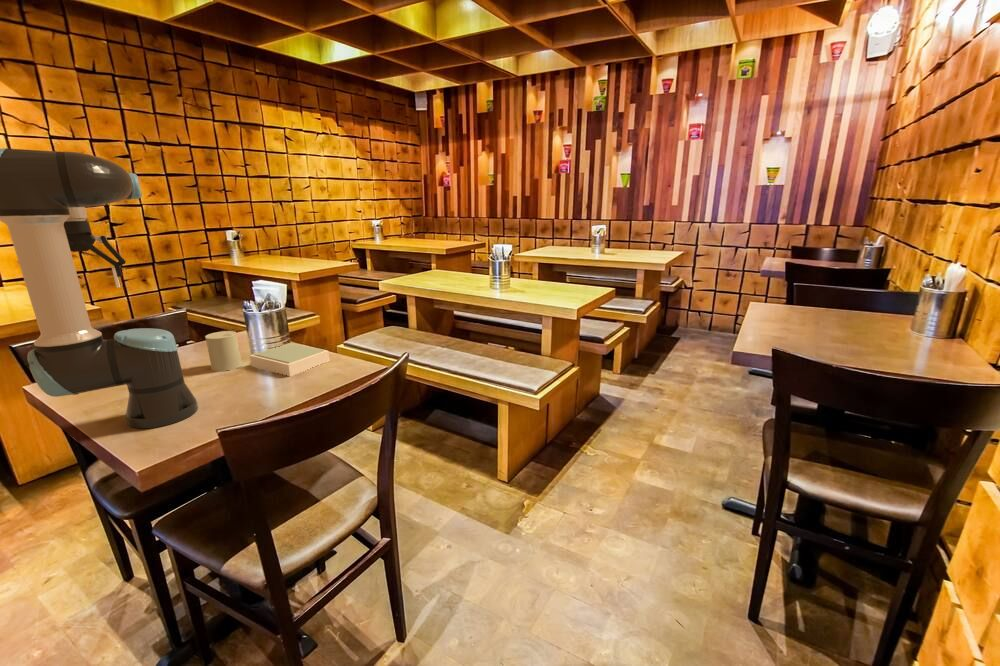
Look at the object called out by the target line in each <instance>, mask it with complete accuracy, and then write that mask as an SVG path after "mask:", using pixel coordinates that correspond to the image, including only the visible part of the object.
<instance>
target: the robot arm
mask: <svg viewBox="0 0 1000 666" xmlns="http://www.w3.org/2000/svg"><path fill="white" fill-rule="evenodd" d="M141 198H142V190H141V186H140V182H139V177H138V175H137V174H136V173H134V172H133V173H132V172H128V171H127V170H126V169H125V168H124V167H123V166H121V165H120V164H118V163H116V162H114V161H111V160H109V159H106V158H102V157H100V156H96V155H92V154H87V153H84V152H76V151H58V150H54V151H53V150H42V149H41V150H37V149H22V148H19V149H18V148H7V147H3V148H0V222H1V223H3V224H4V225H5V226H6V227H7V228H8V231H9V234H10V235H9V236H10V237H11V241H12V246H13V248H14V251H15V254H16V258H17V261H18V263H19V268H20V271H21V274H22V277H23V282H24V284H25V286H26V289H27V290H26V291H27V294H28V297H29V300H30V303H31V306H32V310H33V313H34V316H35V320H36V322H37V323H36V324H37V326H38V329H39V333H40V335H39V337H37V339H36V340H35V341H33V346H34V348H32V349H31V350H29V351H28V352H27V358H26V359H27V364H28V365H29V366H28V367H29V370H30V373H31V374H32V378H33V379H34V382H36V384H37V385H38V387H39V389H40V390H41V391H43V393H45V394H46V395H47V396H50V397H54V398H57V397H58V398H59V397H64V396H71V395H72V396H76V395H79V394H83V393H87V392H93V391H100V390H103V389H108V388H109V389H110V388H115V387H120V386H126V387H127V391H128V399H127V400H128V401H127V406H126V413H125V418H126V422H127V425H128V426H129V427H130V428H133V429H153V428H160V427H163V426H168V425H171V424H174V423H178V422H181V421H183V420H185V419H187V418H189V417H191V416H193V415H194V414H195V413H196V412H197V411H198V409H199V406H198V401H197V399H196V397H195V396H194V394H193V393H192V391H191V389H190V387H188V385H187V384H186V383H185V379H184V374H183V370H182V366H181V360H180V357H179V353H178V350H179V347H178V345H177V343H176V339H175V337H174V334H173V333H172V332H171V331H168V330H165V329H162V328H152V327H151V328H149V327H148V328H147V327H145V328H142V327H139V328H131V329H130V328H129V329H124V330H120V331H116V332H115V333H114V335H113V338H109V339H104V336H103V333H102V332H101V331H100V330H97V329H95V328H94V327H93V326H92V324H91V321H90V317H89V314H88V310H87V306H86V303H85V302H86V301H85V298H84V296H83V295H84V294H83V291H82V288H81V285H80V279H79V276H78V273H77V269H76V266H75V263H74V259H73V258H74V257H73V255H72V253H78V252H89V251H91V252H93V253H94V254H95V255H97V256H99V257H100V258H102V259H104V261H106V262H108V263H109V264H110V265H112V266H111V271H112V274H113V278H114V282H115V286H116V289H118V288H121V285H120V281H119V278H121V277H122V275H123V274H122V270H121V269H122V268H121V266H123V265H126V263H127V262H126V260H125V258H123V256H121V254H120V253H119V252H118V251H117V250H116V248H114V246H113V245H112V244H111V243H110V242H109V241H108V239H107V236H106V235H99V236H94V235H93V233H92V228H91V225H90V221H89V220H87V219H88V214H87V210H86V208H92V207H99V206H104V205H109V204H114V203H118V202H121V201H124V200H129V201H130V200H139V199H141ZM96 241H98V243H100V244H103V246H104V247H105V248H106V249H107V250H108V251H109V252H110V253H111V254H112V255H113V256H114V258H115V259H116V260H117V261H116V260H115V259H114V258H112V257H110V256H109V255H108V254H106V253H105V252H104V251H102V250H100V248H98V247H96V246H95V245H94V244H95V242H96Z"/></svg>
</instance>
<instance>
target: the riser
mask: <svg viewBox="0 0 1000 666" xmlns="http://www.w3.org/2000/svg"><path fill="white" fill-rule="evenodd" d="M279 346H280V347H278V346H275V347H276V348H275V347H272V348H269V349H265V350H262V351H259V352H256V353H253V354H249V361H250V366H251V367H253V368H256V369H259V370H263V371H268V372H271V373H275V374H278V373H279V375H282V374H283V376H286V375H287V377H292V376H295V374H296V375H299V374H301V373H303V371H304V372H306V371H308V370H307V369H309V370H311V369H313V368H312V367H314V368H316V367H315V366H317V365H319V366H321V365H320V364H322V363H325V362H327V363H329V362H328V361H330V354H329V353H330V351H329V350H326V349H322V348H316V347H312V346H309V345H303V344H297V343H293V342H288V343H285V344H282V346H281V345H279ZM330 362H331V361H330ZM325 364H326V363H325ZM322 365H323V364H322ZM317 367H318V366H317ZM310 368H311V369H310ZM305 370H306V371H305ZM300 372H301V373H300Z"/></svg>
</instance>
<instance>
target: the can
mask: <svg viewBox="0 0 1000 666" xmlns="http://www.w3.org/2000/svg"><path fill="white" fill-rule="evenodd" d="M204 338H205V342H206V347H207V351H208V356H209V362H210V368H211V369H212V370H214V371H213V372H216V371H222V372H226V371H225V370H229V371H232V370H231V369H234V370H236V368H237V369H239V368H241V367H242V366H243V362H242V358H241V353H240V346H239V342H238V340H239V339H238V334H237V332H236V331H235V330H234V331H233V330H221V331H217V332H212V333H208V334H206V335H204ZM240 366H241V367H240ZM212 370H211V371H212Z"/></svg>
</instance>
